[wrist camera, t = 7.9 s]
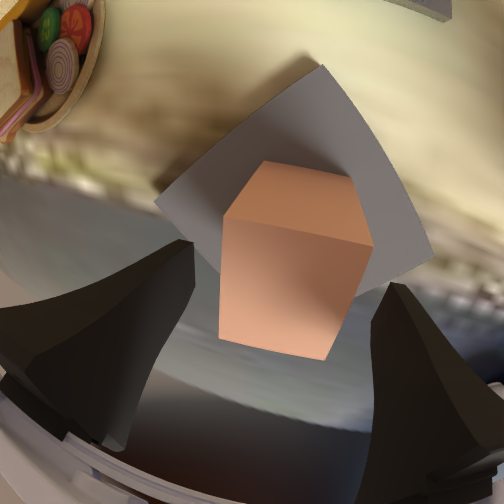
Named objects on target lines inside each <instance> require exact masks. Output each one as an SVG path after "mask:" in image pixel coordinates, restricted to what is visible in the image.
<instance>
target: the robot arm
mask: <svg viewBox="0 0 504 504" xmlns="http://www.w3.org/2000/svg"><path fill="white" fill-rule="evenodd" d="M194 288H195V266H194V242H190V241H185V240H180V239H178V240H176V241H174V242H172V243H170V244H168V245H166V246H164V247H162V248H161V249H159V250H157V251H155V252H154V253H152V254H150V255H148V256H146V257H145V258H143V259H141V260H139V261H137V262H136V263H134V264H132V265H130V266H128V267H126V268H124V269H122V270H120V271H118V272H116V273H114V274H113V275H111V276H108V277H106V278H104V279H102V280H100V281H98V282H95V283H93V284H90V285H88V286H86V287H83V288H80V289H77V290H75V291H72V292H69V293H66V294H63V295H60V296H57V297H53V298H50V299H46V300H42V301H38V302H34V303H30V304H25V305H19V306H13V307H6V308H0V365H1V366H2V367H3V369H4V370H5V371H6V372H7V373H6V374H5V375H4V377H2V375H1V374H0V473H1V474H2V475H3V477H4V478H5V479H6V481H7V482H8V483H9V485H10V486H11V487H12V488H13V489H14V491H15V492H16V493H17V494H18V495H19V496H20V498H21V499H22V500H23V501H24V502H25V503H26V504H148V502H147V501H145V500H142V499H140V498H138V497H136V496H134V495H132V494H130V493H128V492H126V491H124V490H122V489H119V488H118V487H115V486H113V485H111V484H109V483H107V482H105V481H103V480H102V478H101V474H100V472H102V473H103V474H105V475H107V476H109V477H111V478H113V479H115V480H117V481H119V482H121V483H123V484H125V485H127V486H129V487H131V488H133V489H135V490H137V491H140V492H142V493H144V494H147V495H149V496H151V497H154V498H157V499H159V500H161V501H164V502H167V503H169V504H244V503H239V502H234V501H229V500H226V499H222V498H218V497H214V496H210V495H206V494H203V493H200V492H196V491H193V490H190V489H187V488H184V487H181V486H178V485H175V484H172V483H169V482H167V481H164V480H162V479H159V478H157V477H154V476H152V475H149V474H147V473H145V472H142V471H140V470H138V469H136V468H134V467H131V466H129V465H127V464H125V463H123V462H121V461H119V460H117V459H115V458H113V457H111V456H109V455H107V454H106V453H104V452H102V451H100V450H98V449H96V448H94V447H93V446H91V445H90V443H91V442H93V443H94V444H96V445H98V446H101V445H103V446H105V447H107V448H109V449H111V450H113V451H115V452H119V451H122V450H124V449H125V446H126V442H127V438H128V435H129V431H130V428H131V424H132V421H133V418H134V415H135V411H136V409H137V406H138V403H139V400H140V397H141V394H142V391H143V389H144V387H145V384H146V381H147V379H148V377H149V374H150V372H151V370H152V367H153V365H154V363H155V360H156V358H157V357H158V355H159V353H160V351H161V349H162V347H163V346H164V344H165V342H166V341H167V339H168V337H169V336H170V334H171V332H172V330H173V329H174V327H175V325H176V324H177V322H178V320H179V319H180V317H181V315H182V314H183V312H184V310H185V308H186V306H187V304H188V302H189V300H190V297H191V295H192V292H193V290H194ZM370 347H371V359H372V371H373V385H374V415H373V425H372V433H371V440H370V446H369V452H368V458H367V462H366V466H365V471H364V475H363V478H362V481H361V485H360V488H359V491H358V494H357V497H356V500H355V503H354V504H504V478H503V479H501V480H498V481H496V482H494V483H492V477H493V476H495V475H497V466H498V465H500V464H501V463H503V462H504V400H503V399H502V398H501V397H500V396H499V395H498V394H496V393H495V392H494V391H493V390H492V389H491V388H490V387H489V386H488V385H487V384H486V383H485V382H484V381H483V380H482V379H481V378H480V377H479V376H478V375H477V374H476V373H475V372H474V371H473V370H472V369H471V368H470V367H469V365H468V364H467V363H466V362H465V361H464V360H463V358H462V357H461V356H460V355H459V354H458V353H457V351H456V350H455V349H454V348H453V347H452V345H451V344H450V343H449V341H448V340H447V339H446V338H445V336H444V335H443V334H442V332H441V331H440V330H439V328H438V327H437V326H436V324H435V323H434V322H433V320H432V319H431V317H430V316H429V315H428V313H427V312H426V311H425V309H424V308H423V307H422V305H421V304H420V303H419V301H418V300H417V299H416V297H415V296H414V295H413V293H412V292H411V291H410V290H409V289H408V288H407V286H406V285H404V284H399V283H394V282H390V284H389V286H388V288H387V291H386V293H385V295H384V297H383V299H382V301H381V303H380V305H379V307H378V309H377V311H376V313H375V315H374V317H373V319H372V321H371V340H370ZM99 471H100V472H99Z"/></svg>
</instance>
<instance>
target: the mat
mask: <svg viewBox="0 0 504 504" xmlns="http://www.w3.org/2000/svg"><path fill="white" fill-rule="evenodd" d="M263 161H270V162H276V163H282V164H288V165H293V166H298V167H304V168H309V169H314V170H319V171H324V172H328V173H333V174H337V175H342V176H346V177H350V178H351V179H352V181H353V184H354V187H355V190H356V192H357V195H358V198H359V201H360V204H361V207H362V210H363V213H364V216H365V219H366V222H367V225H368V228H369V231H370V235H371V238H372V241H373V245H374V248H373V251H372V254H371V256H370V259H369V262H368V264H367V267H366V269H365V272H364V274H363V277H362V279H361V282H360V284H359V287H358V289H357V292H356V294H355V296H354V297H356V296H358V295H360V294H363V293H365V292H367V291H369V290H371V289H373V288H375V287H377V286H379V285H381V284H383V283H385V282H387V281H389V280H391V279H393V278H395V277H397V276H399V275H401V274H403V273H405V272H407V271H409V270H411V269H413V268H415V267H417V266H418V265H420V264H422V263H424V262H426V261H428V260H430V259H431V258H433V257H435V255H434V253H433V250H432V248H431V245H430V243H429V240H428V238H427V235H426V233H425V231H424V228H423V226H422V224H421V222H420V219H419V217H418V215H417V213H416V211H415V208H414V206H413V204H412V202H411V200H410V198H409V196H408V194H407V192H406V190H405V188H404V186H403V184H402V182H401V180H400V179H399V177H398V175H397V173H396V171H395V169H394V168H393V166H392V164H391V162H390V161H389V159H388V157H387V155H386V154H385V152H384V150H383V149H382V147H381V145H380V144H379V142H378V140H377V139H376V137H375V136H374V134H373V132H372V131H371V129H370V128H369V126H368V125H367V123H366V122H365V120H364V119H363V117H362V116H361V114H360V113H359V111H358V110H357V108H356V107H355V106H354V104H353V103H352V101H351V100H350V99H349V97H348V96H347V95H346V93H345V92H344V91H343V89H342V88H341V87H340V85H339V84H338V83H337V81H336V80H335V79H334V78H333V76H332V75H331V74H330V73H329V71H328V70H327V69H326V68H325V66H324V65H323V64H322V65H321V66H319V67H318V68H316V69H315V70H313V71H311V72H310V73H308V74H307V75H305V76H304V77H303V78H301V79H300V80H298V81H297V82H295V83H294V84H292V85H291V86H289V87H288V88H287V89H285V90H284V91H282V92H281V93H280V94H278V95H277V96H276V97H274V98H273V99H271V100H270V101H269V102H267V103H266V104H265V105H263V106H262V107H261V108H259V109H258V110H257V111H256V112H254V113H253V114H252V115H250V116H249V117H248V118H247V119H245V120H244V121H243V122H242V123H240V124H239V125H238V126H237V127H235V128H234V129H233V130H232V131H230V132H229V133H228V134H227V135H226V136H224V137H223V138H222V139H221V140H220V141H219V142H217V143H216V144H215V145H214V146H213V147H212V148H210V149H209V150H208V151H207V152H206V153H205V154H204V155H202V156H201V157H200V158H199V159H198V160H197V161H196V162H195V163H193V164H192V165H191V166H190V167H189V168H188V169H187V170H186V171H185V172H184V173H183V174H182V175H180V176H179V177H178V178H177V179H176V180H175V181H174V182H173V183H172V184H171V185H170V186H169V187H168V188H167V189H166V190H165V191H164V192H163V193H162V194H161V195H160V196H159V197H158V198H157V199H156V200H155V201H154V202H155V204H156V205H157V206H158V207H159V208H160V209H161V210H162V212H163V213H164V214H165V215H166V216H167V217H168V218H169V219H170V221H171V222H172V223H173V224H174V225H175V226H176V227H177V228H178V230H179V231H180V232H181V233H182V234H183V235H184V236H185V237H186V238H187V239H188V241H190V242H194V247H195V248H196V249H197V250H198V251H199V253H200V254H201V255H202V256H203V257H204V258H205V259H206V260H207V261H208V262H209V263H210V264H211V266H212V267H213V268H214V269H215V270H216V271H217V272H218V273H219V274H220V275H221V256H222V235H223V216H224V215H225V213H226V212H227V210H228V209H229V208H230V206H231V205H232V203H233V202H234V201H235V199H236V198H237V196H238V195H239V194H240V192H241V191H242V190H243V188H244V187H245V185H246V184H247V183H248V181H249V180H250V179H251V177H252V176H253V175H254V173H255V172H256V170H257V169H258V168H259V166H260V165H261V164H262V162H263Z"/></svg>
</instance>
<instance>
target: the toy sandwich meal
mask: <svg viewBox="0 0 504 504" xmlns="http://www.w3.org/2000/svg"><path fill="white" fill-rule="evenodd" d="M104 22H105V3H104V0H19V1H18V2H17V3H16V4H15V6H14V7H13V8H12V9H11V10H10V11H9V12H8V13H7V14H6V15H5V16H4V17H3V18H2V19H1V20H0V142H1V143H3V144H5V143H8V142H11V141H13V140H14V138H15V135H16V132H17V131H18V129H19V128H20V127H21V128H22V129H24V130H26V131H28V132H32V133H40V132H45V131H48V130H50V129H51V128H53V127H55V126H56V125H57V124H59V123H60V122H61V121H62V120H63V119H64V118H65V117H66V116H67V115H68V113H69V112H70V111H71V110H72V108H73V107H74V106H75V104H76V103H77V101H78V99H79V98H80V96H81V94H82V93H83V91H84V89H85V87H86V85H87V83H88V81H89V78H90V76H91V73H92V71H93V68H94V66H95V63H96V60H97V57H98V53H99V50H100V46H101V41H102V36H103V30H104Z"/></svg>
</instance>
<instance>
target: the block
mask: <svg viewBox="0 0 504 504" xmlns="http://www.w3.org/2000/svg"><path fill="white" fill-rule="evenodd" d="M373 248H374V245H373V241H372V238H371V235H370V231H369V228H368V225H367V222H366V219H365V216H364V213H363V210H362V207H361V204H360V201H359V198H358V195H357V192H356V190H355V187H354V184H353V181H352V179H351V178H350V177H346V176H342V175H337V174H333V173H328V172H324V171H319V170H314V169H309V168H304V167H298V166H293V165H288V164H282V163H276V162H270V161H263V162H262V164H261V165H260V166H259V168H258V169H257V170H256V172H255V173H254V175H253V176H252V177H251V179H250V180H249V181H248V183H247V184H246V185H245V187H244V188H243V190H242V191H241V192H240V194H239V195H238V196H237V198H236V199H235V201H234V202H233V203H232V205H231V206H230V208H229V209H228V210H227V212H226V213H225V215H224V216H223V235H222V256H221V281H220V313H219V338H220V339H224V340H228V341H232V342H236V343H240V344H244V345H249V346H253V347H257V348H262V349H267V350H271V351H276V352H281V353H286V354H291V355H296V356H302V357H307V358H313V359H319V360H325V358H326V356H327V354H328V352H329V350H330V348H331V346H332V344H333V342H334V340H335V338H336V336H337V334H338V332H339V330H340V328H341V325H342V323H343V321H344V319H345V317H346V315H347V312H348V310H349V308H350V306H351V303H352V301H353V299H354V296H355V294H356V292H357V289H358V287H359V284H360V282H361V279H362V277H363V274H364V272H365V269H366V267H367V264H368V262H369V259H370V256H371V254H372V251H373Z"/></svg>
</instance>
